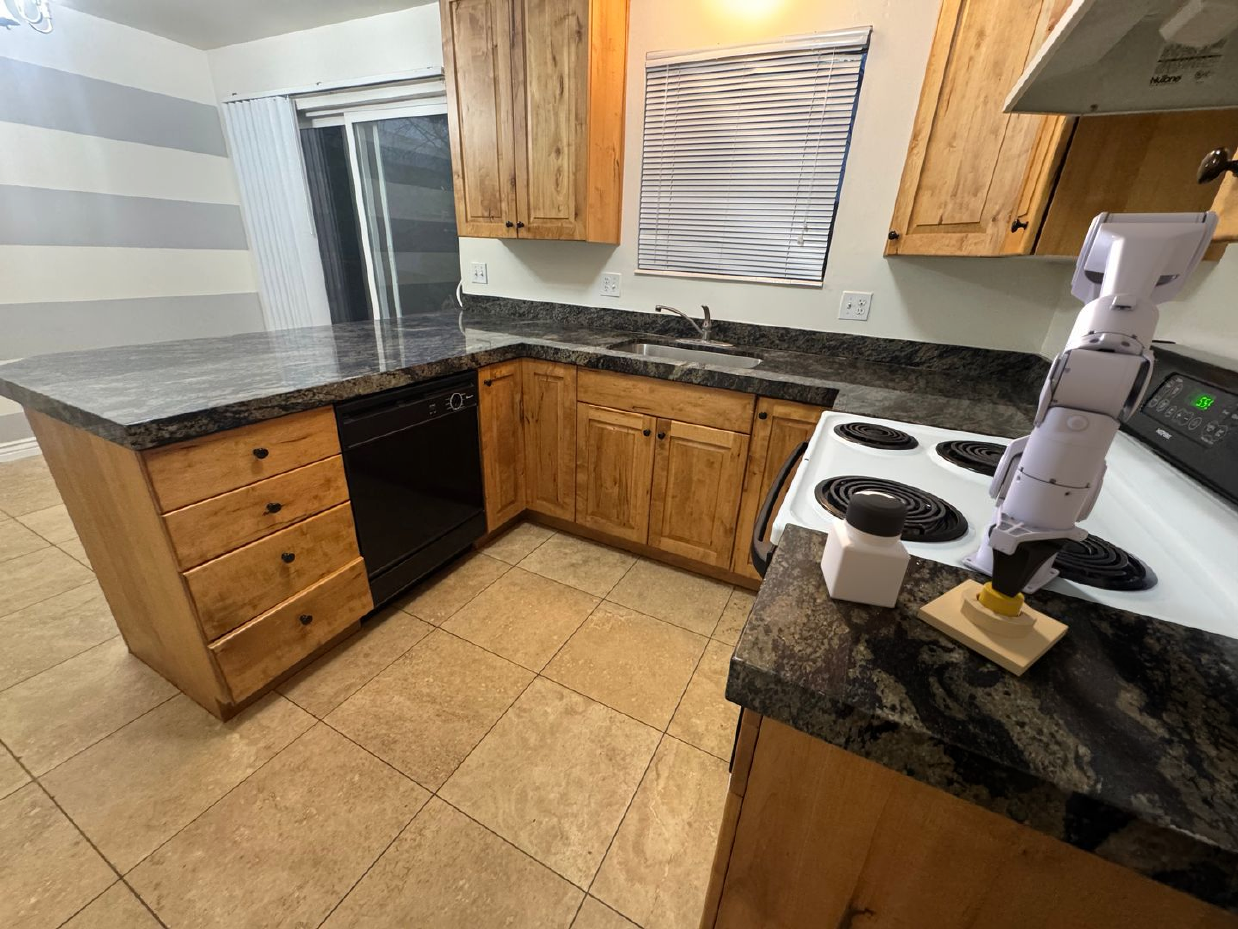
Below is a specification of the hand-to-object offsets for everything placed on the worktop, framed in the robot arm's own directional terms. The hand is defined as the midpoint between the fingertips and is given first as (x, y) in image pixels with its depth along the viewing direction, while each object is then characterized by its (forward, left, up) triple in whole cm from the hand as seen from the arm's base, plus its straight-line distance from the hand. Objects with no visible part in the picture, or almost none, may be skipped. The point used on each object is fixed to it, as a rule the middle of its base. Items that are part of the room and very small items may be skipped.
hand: (1004, 591), depth 53 cm
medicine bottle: (+7, -12, -5) cm, 15 cm away
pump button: (0, 0, -2) cm, 2 cm away
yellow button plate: (0, 0, -5) cm, 5 cm away
